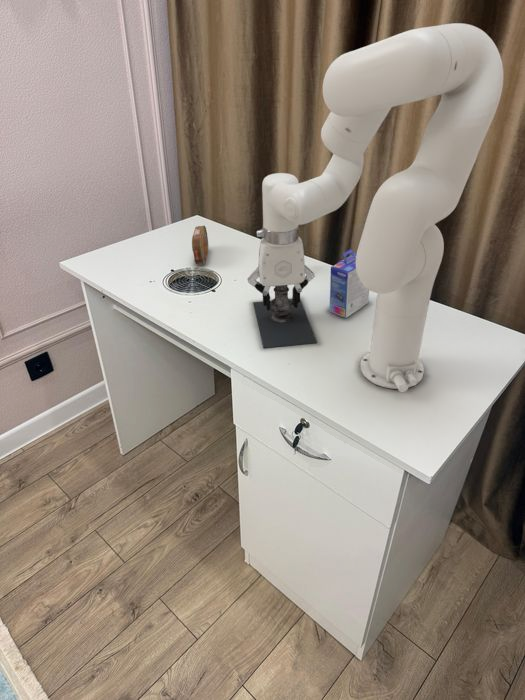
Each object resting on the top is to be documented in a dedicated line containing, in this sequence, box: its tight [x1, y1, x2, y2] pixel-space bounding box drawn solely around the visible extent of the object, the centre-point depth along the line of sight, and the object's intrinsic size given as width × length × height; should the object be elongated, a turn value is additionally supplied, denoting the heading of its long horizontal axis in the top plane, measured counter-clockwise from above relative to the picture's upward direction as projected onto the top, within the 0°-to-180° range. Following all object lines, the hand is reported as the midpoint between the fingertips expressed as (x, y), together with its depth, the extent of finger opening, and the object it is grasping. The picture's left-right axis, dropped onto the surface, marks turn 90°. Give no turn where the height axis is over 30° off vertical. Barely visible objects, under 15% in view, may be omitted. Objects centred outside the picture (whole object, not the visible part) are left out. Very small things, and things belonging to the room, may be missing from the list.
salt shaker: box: [270, 285, 294, 323], centre depth 119 cm, size 6×6×12 cm
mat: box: [252, 298, 318, 349], centre depth 121 cm, size 20×12×1 cm, turn 7°
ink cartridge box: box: [329, 248, 370, 319], centre depth 121 cm, size 10×6×14 cm, turn 137°
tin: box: [191, 225, 209, 265], centre depth 148 cm, size 15×3×8 cm, turn 179°
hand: (281, 305), depth 120 cm, fingers closed on salt shaker, 5 cm apart
